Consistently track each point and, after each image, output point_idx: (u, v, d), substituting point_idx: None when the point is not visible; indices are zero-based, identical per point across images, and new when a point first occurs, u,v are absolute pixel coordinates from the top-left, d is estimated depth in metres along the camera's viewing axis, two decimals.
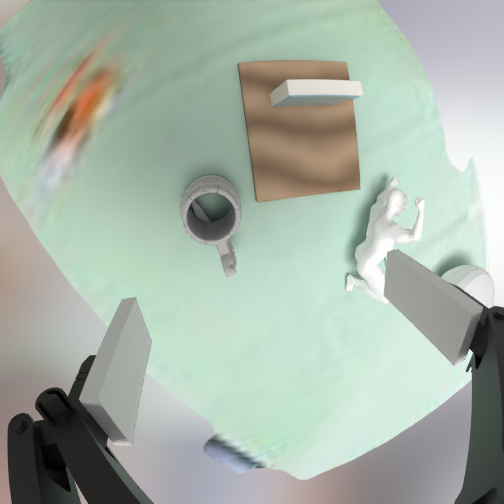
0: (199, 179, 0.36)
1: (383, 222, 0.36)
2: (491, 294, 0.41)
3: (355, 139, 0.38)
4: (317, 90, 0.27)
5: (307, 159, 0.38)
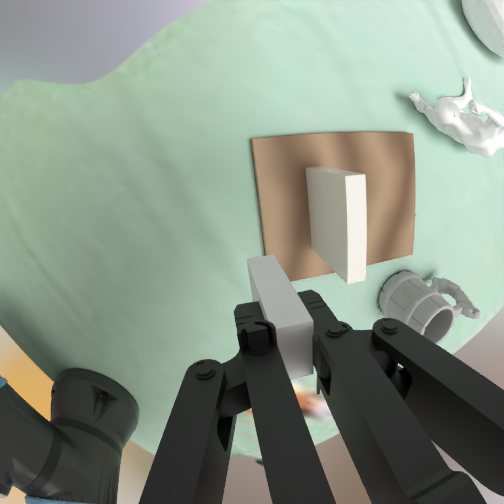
0: (386, 312, 0.35)
1: (470, 139, 0.23)
2: None
3: (362, 134, 0.28)
4: (361, 244, 0.22)
5: (384, 201, 0.31)
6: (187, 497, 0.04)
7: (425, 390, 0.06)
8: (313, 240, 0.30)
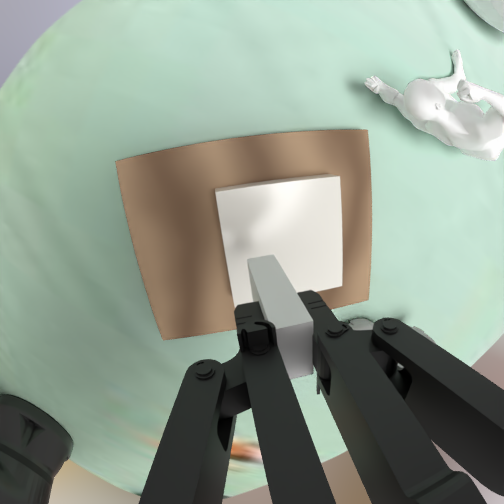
0: None
1: (463, 141, 0.16)
2: None
3: (278, 136, 0.20)
4: None
5: None
6: (187, 497, 0.04)
7: (425, 390, 0.06)
8: (242, 292, 0.22)
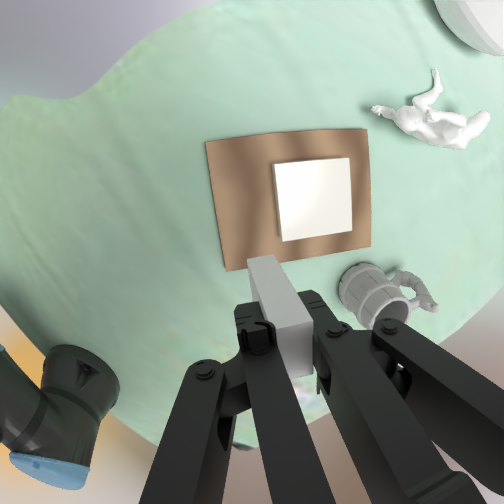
0: (344, 301, 0.39)
1: (435, 141, 0.27)
2: None
3: (311, 132, 0.31)
4: None
5: None
6: (187, 497, 0.04)
7: (425, 390, 0.06)
8: (288, 231, 0.33)
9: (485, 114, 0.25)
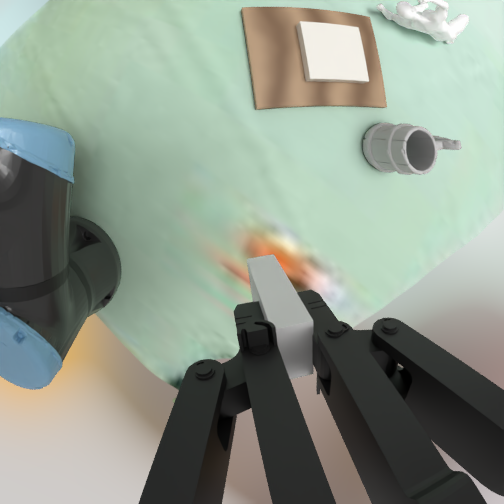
0: (370, 154, 0.37)
1: (430, 25, 0.25)
2: None
3: (325, 11, 0.29)
4: None
5: None
6: (187, 497, 0.04)
7: (425, 390, 0.06)
8: (314, 70, 0.31)
9: (465, 15, 0.24)
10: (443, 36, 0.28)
